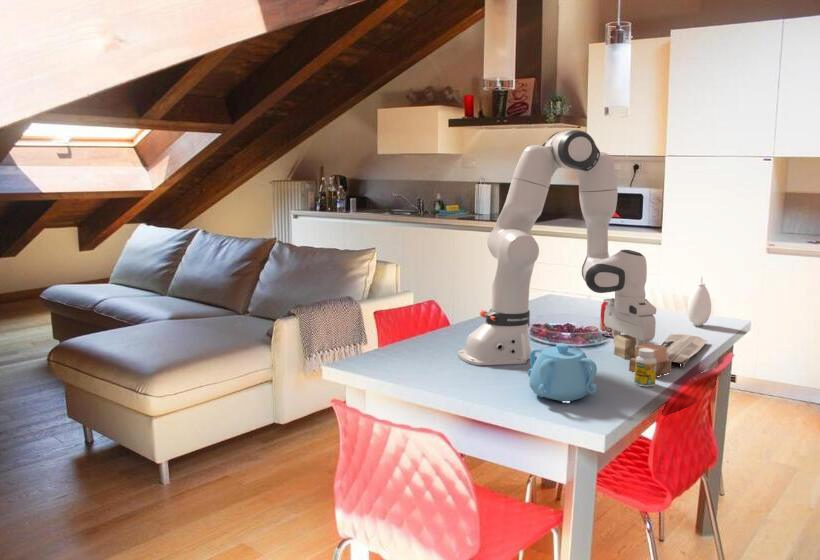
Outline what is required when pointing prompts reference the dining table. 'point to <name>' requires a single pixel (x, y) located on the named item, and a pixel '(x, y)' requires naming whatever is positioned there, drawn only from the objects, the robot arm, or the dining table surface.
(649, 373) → the supplement bottle
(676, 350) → the newspaper
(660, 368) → the base block
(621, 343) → the oak block
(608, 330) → the soda can
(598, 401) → the dining table surface
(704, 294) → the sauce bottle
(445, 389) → the dining table surface
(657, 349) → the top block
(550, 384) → the decorative pot
